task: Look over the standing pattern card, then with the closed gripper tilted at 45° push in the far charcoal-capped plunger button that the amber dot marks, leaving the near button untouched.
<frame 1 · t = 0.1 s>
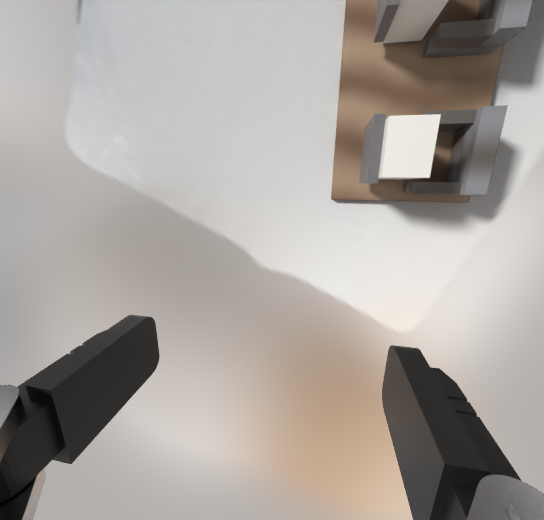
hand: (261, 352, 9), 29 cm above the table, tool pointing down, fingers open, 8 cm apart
button board: (410, 93, 30), on the table
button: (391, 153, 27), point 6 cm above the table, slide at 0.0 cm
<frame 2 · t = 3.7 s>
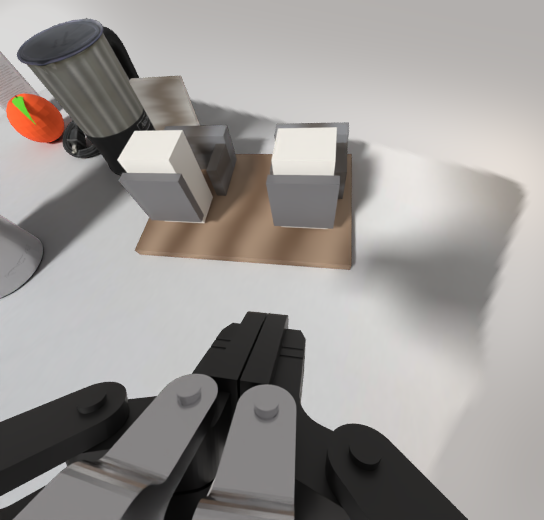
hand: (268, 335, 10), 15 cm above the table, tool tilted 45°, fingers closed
clementine: (56, 140, 45), on the table
button board: (250, 205, 32), on the table
skincare box: (37, 119, 49), on the table
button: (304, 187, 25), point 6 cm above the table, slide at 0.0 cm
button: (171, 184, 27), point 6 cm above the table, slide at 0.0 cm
milk frother: (119, 152, 41), on the table
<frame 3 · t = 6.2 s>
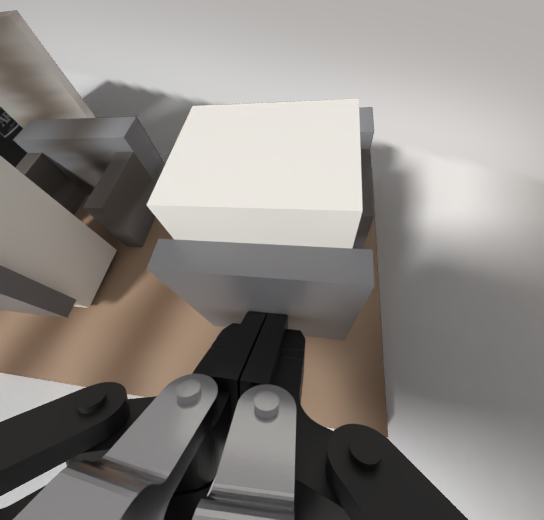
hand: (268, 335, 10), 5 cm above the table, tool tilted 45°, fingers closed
button board: (187, 263, 18), on the table
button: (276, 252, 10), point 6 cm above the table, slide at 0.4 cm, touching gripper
milk frother: (2, 165, 27), on the table
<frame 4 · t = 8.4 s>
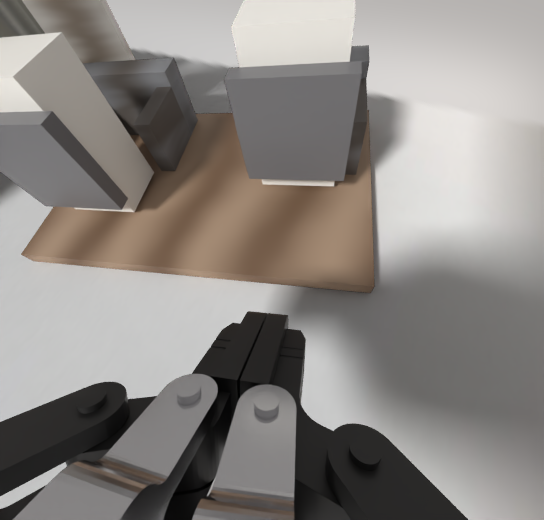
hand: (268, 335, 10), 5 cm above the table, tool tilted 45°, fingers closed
button board: (212, 185, 21), on the table
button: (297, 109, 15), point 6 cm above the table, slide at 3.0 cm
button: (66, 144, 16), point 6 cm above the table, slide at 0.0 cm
milk frother: (41, 118, 30), on the table
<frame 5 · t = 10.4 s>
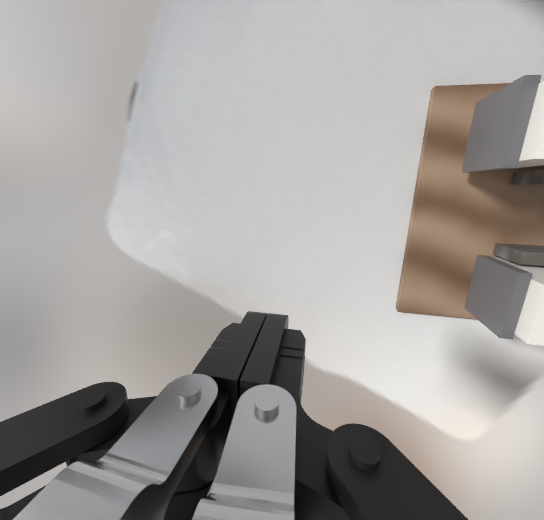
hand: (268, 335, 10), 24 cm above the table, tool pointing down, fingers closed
button board: (491, 213, 28), on the table
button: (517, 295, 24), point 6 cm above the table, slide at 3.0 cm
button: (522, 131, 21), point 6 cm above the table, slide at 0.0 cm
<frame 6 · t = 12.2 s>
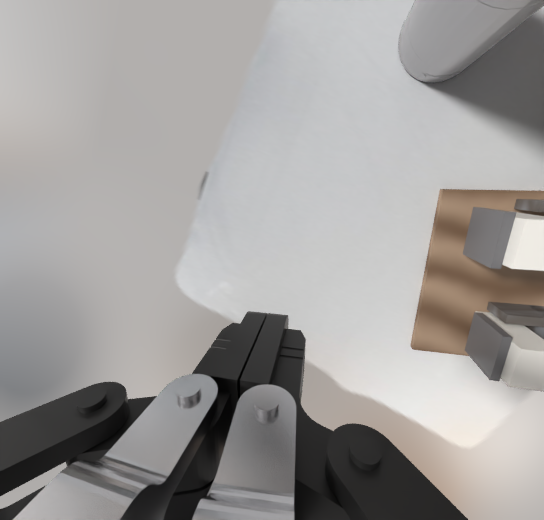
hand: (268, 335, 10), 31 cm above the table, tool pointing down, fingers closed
button board: (485, 278, 37), on the table
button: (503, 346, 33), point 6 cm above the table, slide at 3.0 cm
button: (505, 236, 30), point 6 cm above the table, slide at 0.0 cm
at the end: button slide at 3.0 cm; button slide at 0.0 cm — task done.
